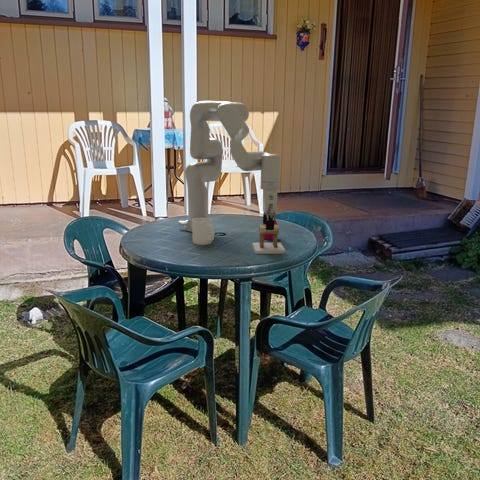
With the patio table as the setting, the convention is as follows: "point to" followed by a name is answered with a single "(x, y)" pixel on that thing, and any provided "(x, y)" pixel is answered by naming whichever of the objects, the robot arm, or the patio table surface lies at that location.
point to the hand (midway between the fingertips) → (268, 226)
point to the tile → (268, 248)
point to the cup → (202, 231)
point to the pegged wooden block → (263, 231)
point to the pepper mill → (270, 236)
